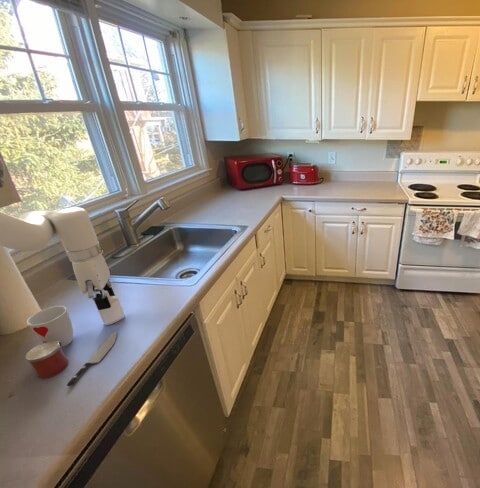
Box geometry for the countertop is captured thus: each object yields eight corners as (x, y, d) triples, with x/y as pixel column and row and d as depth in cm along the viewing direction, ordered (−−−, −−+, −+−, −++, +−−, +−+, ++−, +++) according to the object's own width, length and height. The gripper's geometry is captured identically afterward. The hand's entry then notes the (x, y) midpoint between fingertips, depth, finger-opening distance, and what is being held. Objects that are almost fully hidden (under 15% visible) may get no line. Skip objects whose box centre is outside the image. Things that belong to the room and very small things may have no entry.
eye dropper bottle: (123, 322, 89) (110, 290, 84) (102, 326, 87) (87, 295, 82) (126, 313, 92) (114, 283, 87) (106, 318, 91) (92, 287, 85)
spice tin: (32, 381, 69) (20, 363, 67) (44, 363, 75) (33, 344, 72) (63, 373, 72) (52, 355, 69) (73, 356, 77) (63, 338, 74)
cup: (36, 348, 79) (19, 321, 75) (68, 329, 86) (54, 303, 82) (55, 356, 77) (38, 328, 72) (86, 335, 84) (73, 309, 79)
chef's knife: (125, 331, 85) (115, 331, 85) (124, 328, 85) (114, 328, 84) (79, 387, 68) (66, 387, 68) (77, 384, 67) (64, 384, 67)
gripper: (79, 241, 85) (101, 291, 93) (55, 268, 71) (83, 324, 79) (109, 237, 87) (127, 286, 95) (91, 262, 73) (114, 317, 81)
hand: (107, 303), depth 87 cm, fingers closed on eye dropper bottle, 4 cm apart
